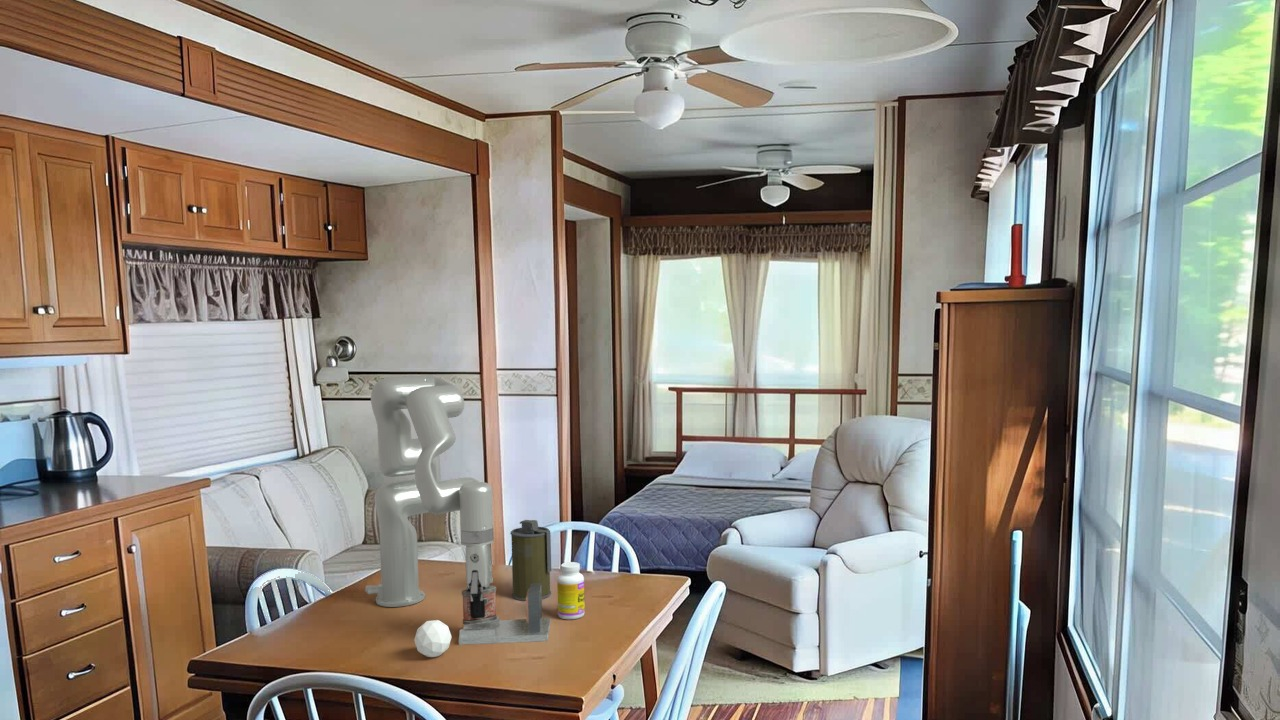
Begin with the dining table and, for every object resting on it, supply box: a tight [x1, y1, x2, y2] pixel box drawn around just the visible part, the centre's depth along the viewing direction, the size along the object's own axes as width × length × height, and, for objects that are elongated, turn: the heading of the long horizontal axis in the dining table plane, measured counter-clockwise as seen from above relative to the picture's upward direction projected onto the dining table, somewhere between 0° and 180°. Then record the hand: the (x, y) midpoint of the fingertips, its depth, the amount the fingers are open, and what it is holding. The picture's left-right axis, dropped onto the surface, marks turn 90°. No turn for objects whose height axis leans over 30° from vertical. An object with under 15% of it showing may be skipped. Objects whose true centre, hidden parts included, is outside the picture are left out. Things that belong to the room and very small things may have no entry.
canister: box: [509, 519, 552, 602], centre depth 223 cm, size 11×10×20 cm
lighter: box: [461, 577, 498, 625], centre depth 194 cm, size 8×3×10 cm, turn 117°
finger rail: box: [458, 583, 551, 646], centre depth 194 cm, size 20×11×10 cm, turn 93°
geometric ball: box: [414, 619, 453, 658], centre depth 182 cm, size 8×8×8 cm
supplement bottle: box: [556, 561, 586, 621], centre depth 206 cm, size 7×7×13 cm
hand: (479, 613), depth 194 cm, fingers closed on lighter, 4 cm apart
